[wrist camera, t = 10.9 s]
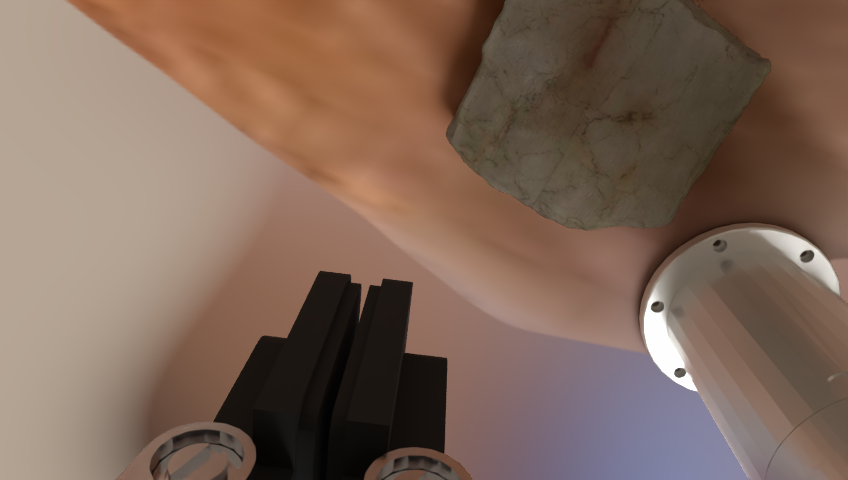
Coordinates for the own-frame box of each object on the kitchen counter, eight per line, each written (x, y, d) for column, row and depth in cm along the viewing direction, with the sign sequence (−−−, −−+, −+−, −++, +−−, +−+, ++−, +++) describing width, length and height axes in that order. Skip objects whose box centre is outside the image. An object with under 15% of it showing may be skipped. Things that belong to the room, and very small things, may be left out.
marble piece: (567, -130, 34) (582, -144, 30) (791, 3, 36) (832, 6, 32) (426, 142, 40) (423, 160, 36) (625, 243, 42) (642, 271, 38)
